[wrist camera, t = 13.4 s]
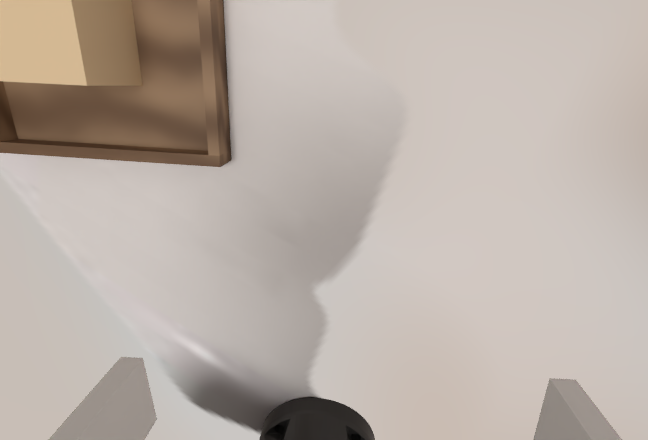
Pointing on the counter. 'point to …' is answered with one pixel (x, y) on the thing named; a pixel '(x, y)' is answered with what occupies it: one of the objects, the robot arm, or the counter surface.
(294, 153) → the counter surface
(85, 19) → the tan block
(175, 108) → the tray
